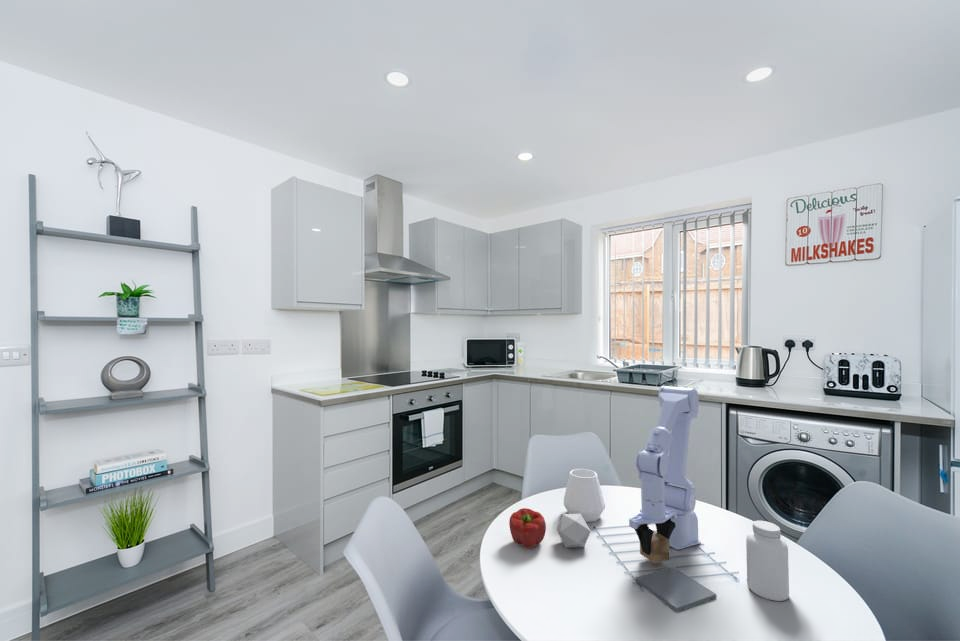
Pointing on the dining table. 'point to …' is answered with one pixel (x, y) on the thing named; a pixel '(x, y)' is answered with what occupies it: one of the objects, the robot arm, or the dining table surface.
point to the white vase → (584, 495)
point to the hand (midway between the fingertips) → (654, 550)
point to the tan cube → (658, 549)
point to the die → (573, 530)
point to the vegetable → (527, 527)
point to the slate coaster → (675, 588)
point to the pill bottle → (767, 562)
